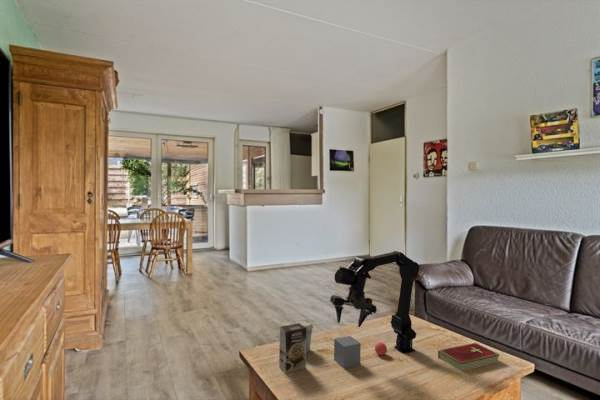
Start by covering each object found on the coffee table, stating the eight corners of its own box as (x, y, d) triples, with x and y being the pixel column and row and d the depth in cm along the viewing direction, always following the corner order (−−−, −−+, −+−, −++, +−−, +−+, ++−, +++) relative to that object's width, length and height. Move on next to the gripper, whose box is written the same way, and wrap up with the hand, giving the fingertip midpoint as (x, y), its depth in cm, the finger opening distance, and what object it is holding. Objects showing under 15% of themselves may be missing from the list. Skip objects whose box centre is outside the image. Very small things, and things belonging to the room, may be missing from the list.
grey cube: (349, 356, 141) (350, 335, 141) (360, 364, 134) (360, 343, 134) (334, 359, 138) (334, 338, 138) (343, 368, 131) (344, 346, 131)
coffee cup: (310, 355, 142) (311, 327, 142) (291, 353, 144) (291, 325, 143) (314, 346, 150) (314, 320, 150) (295, 344, 152) (295, 318, 152)
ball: (381, 351, 146) (381, 339, 146) (389, 356, 142) (389, 344, 142) (372, 353, 144) (372, 341, 144) (379, 358, 140) (379, 346, 140)
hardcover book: (437, 359, 141) (438, 349, 141) (474, 351, 149) (474, 341, 149) (460, 373, 130) (461, 362, 130) (499, 363, 137) (499, 353, 137)
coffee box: (286, 374, 127) (286, 332, 127) (278, 366, 132) (279, 326, 132) (306, 368, 131) (307, 327, 131) (298, 361, 137) (299, 322, 137)
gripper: (343, 286, 128) (334, 327, 126) (386, 296, 132) (378, 335, 130) (334, 280, 139) (325, 318, 137) (374, 289, 143) (366, 326, 141)
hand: (348, 324), depth 136 cm, fingers open, 9 cm apart
